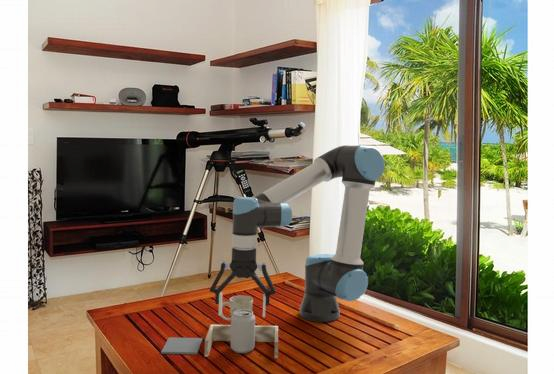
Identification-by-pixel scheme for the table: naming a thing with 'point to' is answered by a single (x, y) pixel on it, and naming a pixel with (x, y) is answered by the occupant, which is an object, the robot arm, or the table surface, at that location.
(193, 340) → the mat
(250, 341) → the can
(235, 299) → the mug
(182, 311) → the table surface
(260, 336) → the u-shaped shelf bracket
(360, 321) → the table surface
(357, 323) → the table surface
